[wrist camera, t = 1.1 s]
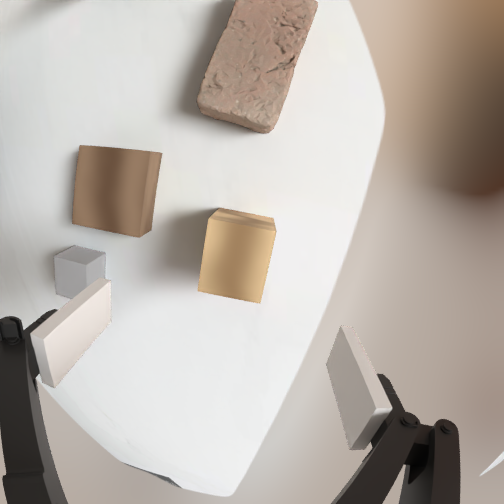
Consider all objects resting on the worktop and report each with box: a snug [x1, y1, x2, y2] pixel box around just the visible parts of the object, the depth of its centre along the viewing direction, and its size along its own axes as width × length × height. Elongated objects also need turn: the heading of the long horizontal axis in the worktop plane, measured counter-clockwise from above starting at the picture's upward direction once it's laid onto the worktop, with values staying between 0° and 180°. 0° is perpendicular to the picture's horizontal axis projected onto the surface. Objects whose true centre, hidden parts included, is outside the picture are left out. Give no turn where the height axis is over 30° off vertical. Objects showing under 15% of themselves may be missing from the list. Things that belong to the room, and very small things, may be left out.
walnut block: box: [72, 145, 162, 238], centre depth 31 cm, size 9×9×4 cm
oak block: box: [198, 208, 276, 303], centre depth 30 cm, size 6×7×7 cm
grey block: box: [54, 246, 106, 299], centre depth 33 cm, size 5×5×5 cm
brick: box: [197, 0, 318, 133], centre depth 26 cm, size 17×8×5 cm, turn 162°
